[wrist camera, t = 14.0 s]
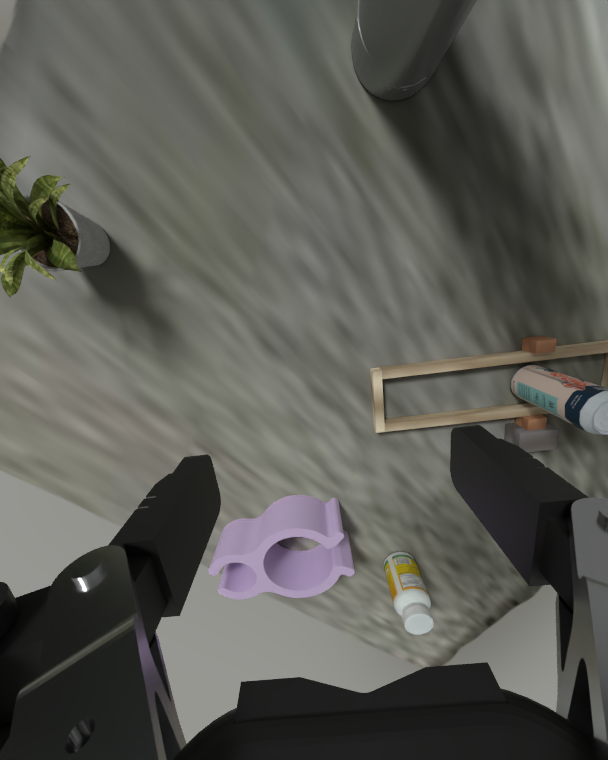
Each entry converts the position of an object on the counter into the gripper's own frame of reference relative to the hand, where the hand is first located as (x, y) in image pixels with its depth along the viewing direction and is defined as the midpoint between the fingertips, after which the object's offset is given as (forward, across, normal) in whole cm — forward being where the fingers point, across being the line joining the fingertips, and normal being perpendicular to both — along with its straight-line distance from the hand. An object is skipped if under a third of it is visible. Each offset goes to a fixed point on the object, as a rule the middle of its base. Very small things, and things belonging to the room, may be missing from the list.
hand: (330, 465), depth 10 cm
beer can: (+30, -28, +10) cm, 43 cm away
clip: (+30, +8, +31) cm, 44 cm away
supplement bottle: (+30, -10, +40) cm, 51 cm away
